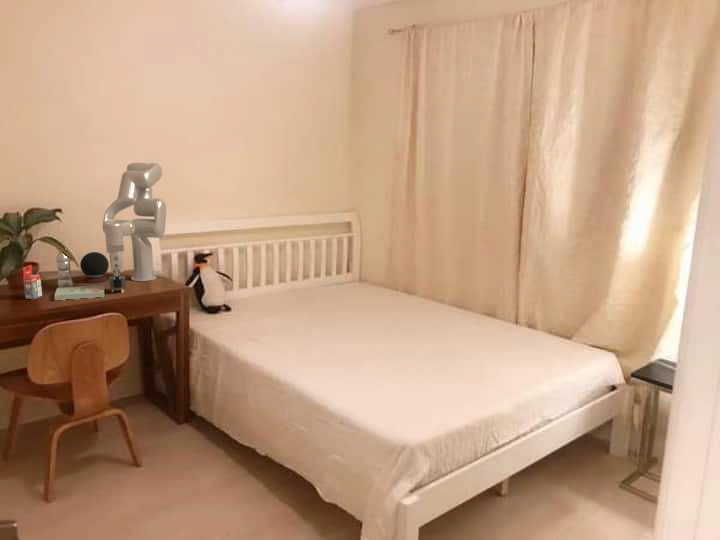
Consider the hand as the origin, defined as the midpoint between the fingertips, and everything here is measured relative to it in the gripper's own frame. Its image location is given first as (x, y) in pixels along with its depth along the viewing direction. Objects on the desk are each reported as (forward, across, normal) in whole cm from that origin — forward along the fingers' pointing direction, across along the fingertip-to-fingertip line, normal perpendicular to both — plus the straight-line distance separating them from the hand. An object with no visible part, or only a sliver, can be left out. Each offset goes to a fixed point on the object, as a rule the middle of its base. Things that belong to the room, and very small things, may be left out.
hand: (117, 285), depth 265 cm
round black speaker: (+3, +28, +10) cm, 30 cm away
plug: (+3, 0, 0) cm, 3 cm away
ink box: (+3, +1, +35) cm, 35 cm away
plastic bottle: (+3, +15, +23) cm, 28 cm away
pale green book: (+3, -1, +16) cm, 16 cm away
